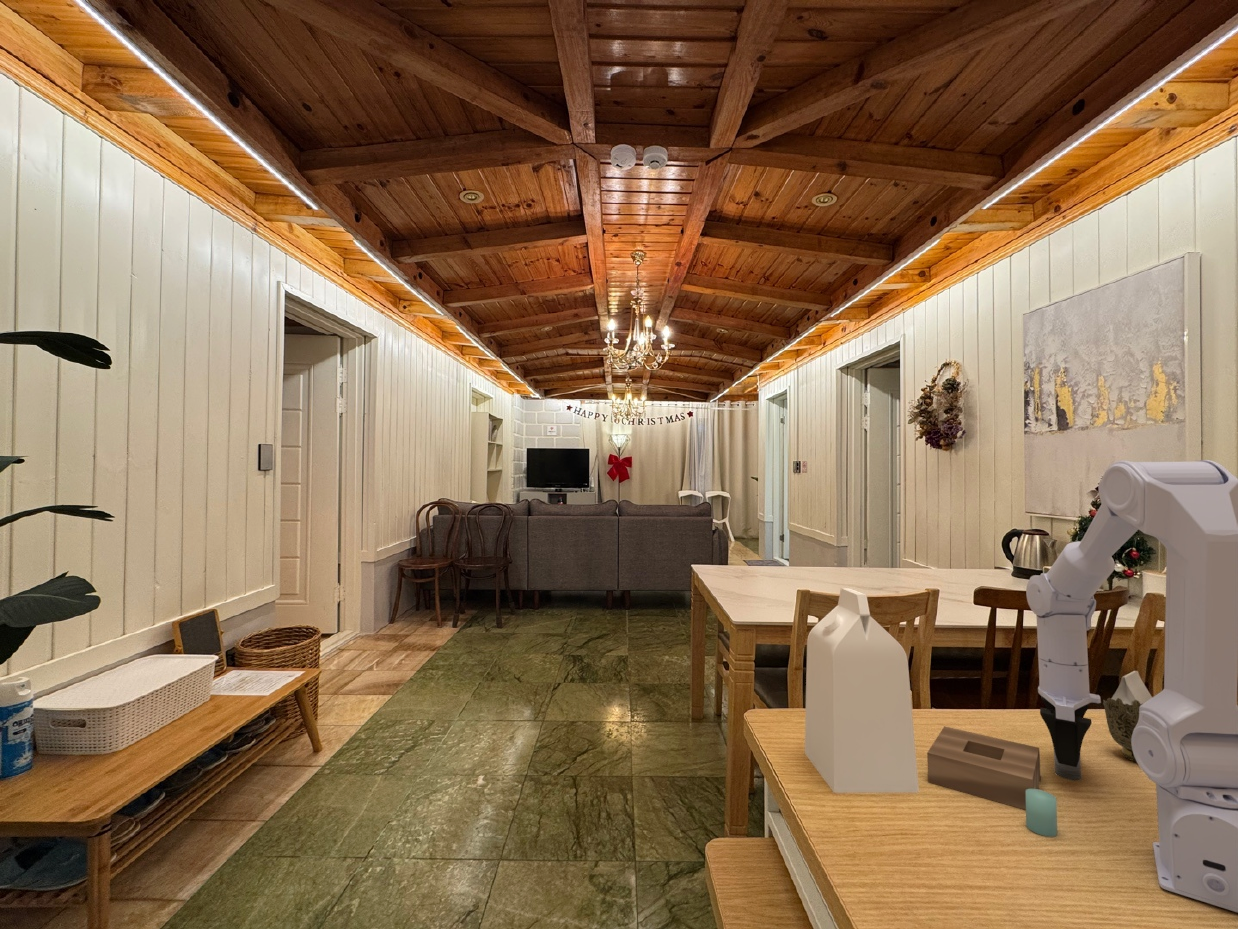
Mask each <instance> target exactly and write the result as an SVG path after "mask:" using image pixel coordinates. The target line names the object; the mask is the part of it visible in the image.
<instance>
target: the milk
mask: <svg viewBox="0 0 1238 929" xmlns="http://www.w3.org/2000/svg"><path fill="white" fill-rule="evenodd" d="M870 612H871V611H870V607H869V602H868V596H867V594H866V593H863V592H860V591H858V590H855V589H852V588H850V587H847V588H846V587H840V592H839V597H838V603H837V605H836V606H835V607H834V608H833V609H831V611H829V612H828V613H827V614H826V615H825V616H824V617H823V618H822V619H820V620H819V621H818V622H817V623H816V624H815V625H814V626H813V627H812V628H811V630H810V631H809V633H808V636H807V641H806V671H805V672H806V675H805V676H806V677H805V679H806V680H805V681H806V682H805V684H806V685H805V719H804V721H805V723H804V726H805V727H804V754H805V756H806V757H807V759H808V760H809V761H810V763H811V764H812V765H813V766H814V768H815V769H816V771H817V772H818V773H819V775H820V777H822V778H823V780H824V782H825V783H826V784H827V785H828V787H829V788H830V789H831V790H832V792H833V793H834V794H880V793H881V794H884V793H885V794H889V793H890V794H892V793H894V794H899V793H900V794H901V793H902V794H905V793H906V794H907V793H908V794H909V793H910V794H913V793H915V794H916V793H920V789H919V788H920V787H919V779H918V778H919V777H918V767H917V766H918V765H917V764H918V763H917V754H916V742H915V732H914V728H915V727H914V719H913V706H912V693H911V683H910V673H909V660H908V656H907V653H906V651H905V649H904V647H903V646H902V645H901V644H900V642H898V640H897V639H896V638H895V637H893V636H892V635H891V634H890V633H889V632H888V631H887V630H886V629H885V628H884V627H883V626H882V625H881V624H880V623H879V622H877V621H876V619H874V618H873V617H872V616H871V613H870Z"/></svg>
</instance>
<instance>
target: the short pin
mask: <svg viewBox="0 0 1238 929" xmlns="http://www.w3.org/2000/svg"><path fill="white" fill-rule="evenodd" d="M1057 801H1058V800H1057V797H1056V796H1055V795H1054V794H1052V793H1050V792H1048V791H1045V790H1041V789H1039V788H1038V789H1027V790H1026V810H1025V826H1026V828H1027V829H1028V830H1030V831H1031V832H1033V833H1035V834H1037V835H1040V836H1043V837H1047V838H1053V837H1056V836H1058V812H1057V808H1058V807H1057V806H1058V804H1057V803H1058V802H1057Z"/></svg>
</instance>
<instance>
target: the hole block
mask: <svg viewBox="0 0 1238 929" xmlns="http://www.w3.org/2000/svg"><path fill="white" fill-rule="evenodd" d="M1040 755H1041V754H1040V747H1038V746H1033V745H1029V744H1025V743H1021V742H1020V743H1019V742H1016V741H1011V740H1006V739H1002V738H998V737H993V736H989V735H984V734H980V733H976V732H971V731H967V730H964V729H963V730H961V729H958V728H953V727H949V726H945V725H944V726H943V728H942V729H941V731H940V732H939V733H938V736H937V737H936V739H935V740H934V742H933V743H932V745H931V746H930V747H929V749H928V751H927V752H926V757H927V782H928V783H931V784H934V785H938V786H941V787H943V788H944V787H945V788H947V789H948V788H949V789H951V790H955V791H958V792H962V793H966V794H969V795H972V796H977V797H980V798H984V799H987V800H990V801H994V802H997V803H1000V804H1003V805H1008V806H1011V807H1014V808H1018V809H1021V810H1024V811H1026V790H1027V789H1038V790H1039V786H1040V781H1041V759H1040V758H1041V757H1040Z"/></svg>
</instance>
